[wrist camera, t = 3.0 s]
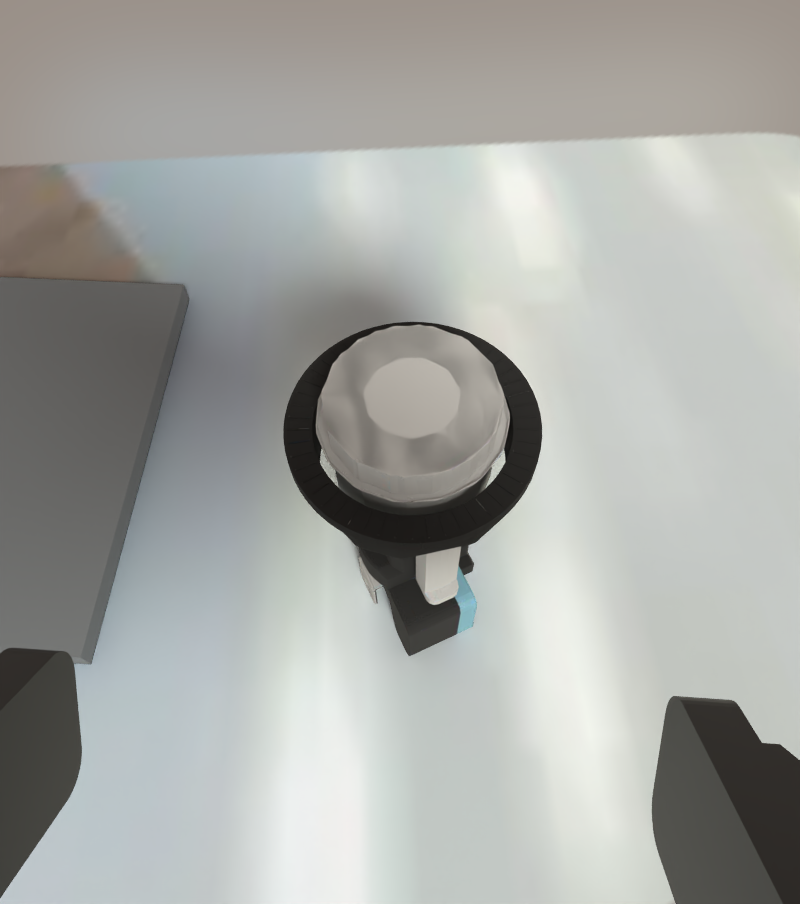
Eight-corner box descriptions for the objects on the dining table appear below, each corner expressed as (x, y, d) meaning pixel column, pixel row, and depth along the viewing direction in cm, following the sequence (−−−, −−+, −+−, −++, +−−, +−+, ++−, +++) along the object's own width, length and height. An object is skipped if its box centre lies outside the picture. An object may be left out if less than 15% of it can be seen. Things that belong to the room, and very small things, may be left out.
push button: (288, 501, 25) (218, 298, 16) (433, 442, 26) (443, 220, 17) (368, 690, 22) (337, 568, 13) (530, 614, 23) (602, 453, 14)
